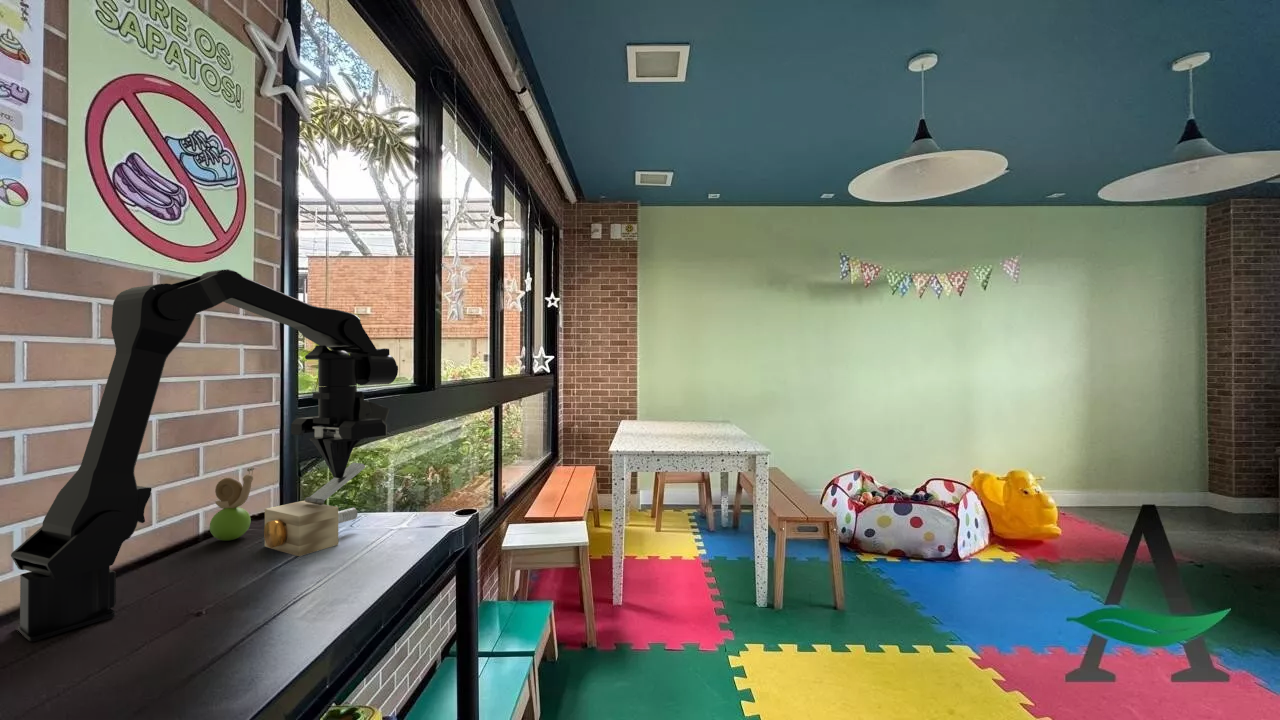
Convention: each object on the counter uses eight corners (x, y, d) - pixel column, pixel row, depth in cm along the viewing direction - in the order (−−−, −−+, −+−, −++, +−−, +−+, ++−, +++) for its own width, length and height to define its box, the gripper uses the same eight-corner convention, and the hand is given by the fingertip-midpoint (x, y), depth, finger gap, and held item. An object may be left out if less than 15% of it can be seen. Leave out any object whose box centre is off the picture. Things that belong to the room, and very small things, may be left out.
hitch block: (298, 556, 79) (298, 516, 79) (264, 546, 83) (264, 508, 84) (338, 544, 84) (338, 507, 84) (304, 535, 89) (304, 500, 89)
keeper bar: (320, 506, 84) (317, 502, 84) (306, 503, 86) (303, 499, 86) (367, 467, 92) (365, 463, 91) (353, 466, 94) (351, 462, 93)
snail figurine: (239, 544, 85) (239, 470, 85) (200, 545, 85) (200, 471, 85) (264, 534, 90) (264, 464, 90) (227, 534, 90) (227, 465, 90)
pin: (277, 549, 79) (277, 523, 79) (263, 545, 81) (263, 519, 81) (361, 526, 90) (360, 503, 90) (347, 523, 92) (347, 500, 92)
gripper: (414, 384, 92) (415, 473, 92) (351, 384, 101) (351, 465, 101) (353, 387, 82) (353, 486, 82) (289, 387, 91) (289, 476, 91)
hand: (338, 477), depth 89 cm, fingers closed
